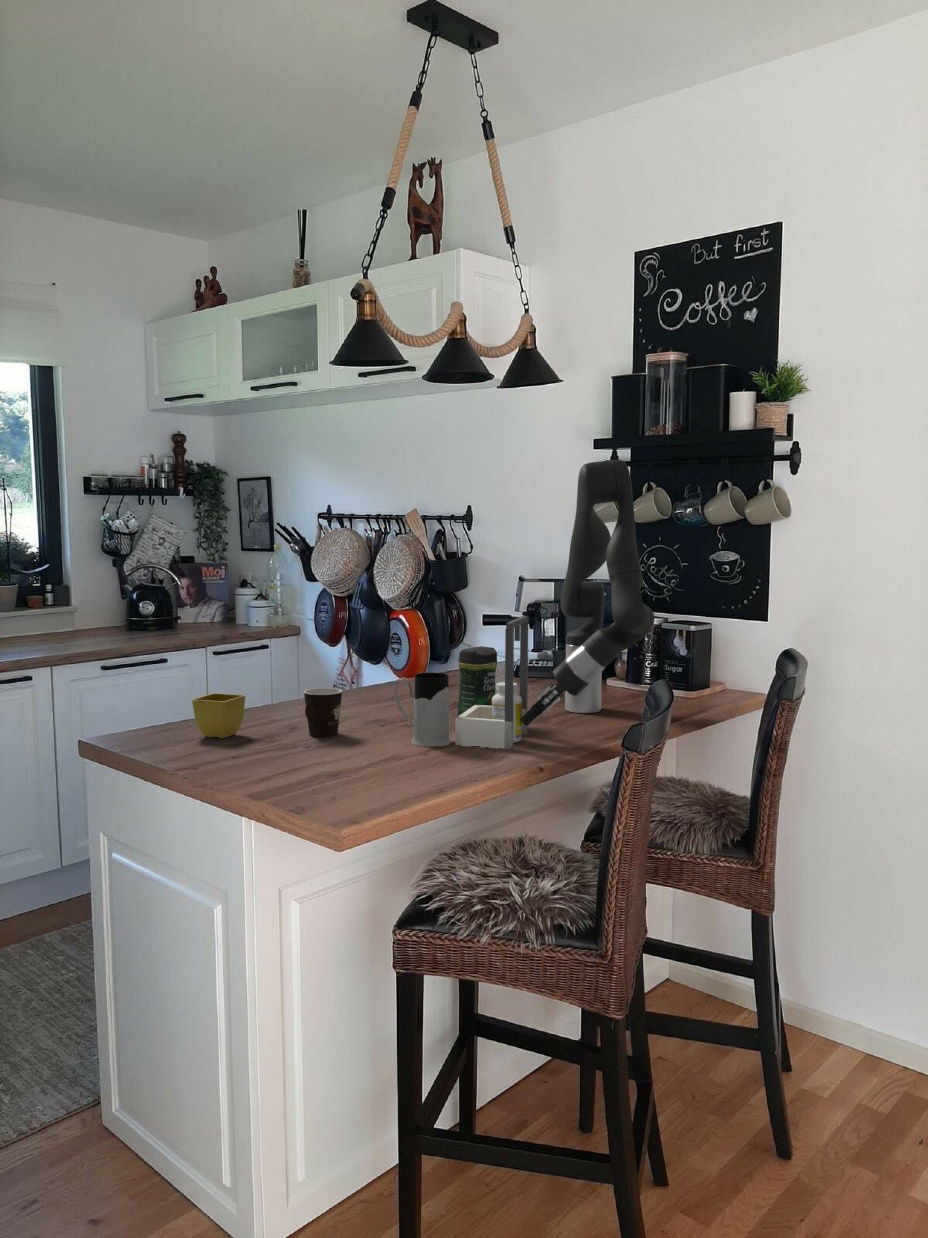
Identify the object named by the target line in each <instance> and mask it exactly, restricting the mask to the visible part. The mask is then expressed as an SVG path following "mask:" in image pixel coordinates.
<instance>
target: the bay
mask: <svg viewBox="0 0 928 1238" xmlns="http://www.w3.org/2000/svg"><path fill="white" fill-rule="evenodd" d="M528 620H529V617H528V615H521V616H520V617H517V618H514V619H513V620H510V621H508V622H506V623H505V625H506V626H505V639H504V640H505V643H504V645H505V646H504V648H505V649H504V653H505V654H504V656H505V657H504V664H505V665H504V682H505V720H498V719H492V706H487V705H474V706H472V707H471V708H470V709H468V710H467V711H465V712H464V713H462V714H461V715H459V716H458V717H455V719H454V721H455V726H454V727H455V728H454V731H455V732H454V733H455V734H454V735H455V740H454V741H455V746H457V745H461V746H460V747H471V746H480V747H479V748H485V747H489V748H488V749H499V748H502V750H503V749H504V750H512V749H513V748H514V743H513V683H514V666H515V665H514V664H515V663H514V661H515V660H514V659H515V658H514V657H515V656H514V655H515V654H514V653H515V642H520V643H519V653H520V654H519V696H520V697H521V698H522V716H524V715H525V714H526V713H527V712H528V695H529V694H528V690H529V689H528V687H529V686H528V685H529V684H528V683H529V682H528V680H529V672H528V671H529V669H528V668H529V621H528ZM527 734H528V725H527V726H525V725H524V724H523V723H522V736H526V735H527Z"/></svg>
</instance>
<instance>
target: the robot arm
mask: <svg viewBox="0 0 928 1238" xmlns="http://www.w3.org/2000/svg"><path fill="white" fill-rule="evenodd" d="M632 484H633V483H632V478H631V472H630V470H629V467H628V464H627V463H626V462H625V460H622V459H611V460H601V461H600V460H599V461H593V462H587V463H584V464H583V465H582V466H581V467H580V469H579V473H578V478H577V489H576V508H575V509H576V510H575V517H574V522H573V527H572V528H573V529H572V533H571V534H572V535H571V538H570V544H569V545H570V546H569V555H568V562H567V563H568V565H567V569H566V574H565V578H564V582H563V585H562V589H561V594H560V609H561V611H562V614H563V615H564V616H565V617H568V618H573V619H576V618H577V619H578V618H584V619H585V618H586V619H587V618H589V621H588V622H587V623H586V624H584V625H583V626H581V627H579V628H577V629H573V630H571V631H569V632H567V633H566V635H565V643H566V644H565V659H563V660H562V661H561V662H560V663H559V664H558V665H557V666H556V667H555V668H554V669H553V670H552V675H553V678H554V680H556V684H554V683H553V682H551V684H549V685H547V687H546V688H545V689H544V691H543V693H541V695H539V696H538V697H537V699H536V702H535V703H533V704H532V705H531V707H530V709H529V710H527V713H526V714H525V715H524V716H522V717H521V719H520V720H521V722H522V723H523V724H524V725H525V726H527V727H528V726H529V725H530V724H531V723H532V722H534V720H536V718H537V717H539V716H541V715H542V714H543V713H544V711H549V710H550V709H551V708H552V707H553V706H554V705H555V704H558V703H559V702H560V701H561V700H562V699H563V698H564V710H565V711H567V712H571V713H575V714H576V713H577V714H579V713H580V714H591V713H592V714H594V713H598V712H600V711H601V710H602V672H603V671H604V670H605V668H606V667H607V666H609V664H611V663H612V662H613V661H614V660H615V659H616V658H618V657H617V656H619V655H620V654H621V653H622V652H624V651H625V650H627V649H629V648H630V647H632V646H633V645H635V644H636V643H638V642H639V641H641V640H642V639H643V638H644V637H645V636H647V635H648V634H649V632H650V631H651V630H652V629H653V627H654V624H655V618H656V617H655V614H654V611H653V610H652V608H651V607H649V606H648V605H647V604H645V603H644V602H643V598H642V592H641V588H642V587H643V584H644V576H643V571H642V565H641V562H640V557H639V552H638V546H637V537H636V521H635V520H636V519H635V507H634V497H633V496H634V495H633V485H632ZM607 503H608V504H610V503H617V506H618V507H617V508H618V513H617V518H616V519H617V520H616V524H615V527H614V529H613V531H612V534H611V533H610V530H609V528H608V526H607V525H606V523H605V522H604V521H603V520H602V519H601V517H600V516H599V515H598V514H597V513H596V511H595V509H594V507H595V506H596V505H601V504H607ZM605 563H606V569H607V572H608V573H607V574H608V578H609V583H610V586H611V587H610V588H611V589H610V590H611V591H610V592H611V593H610V600H611V604H610V605H611V614H612V619H613V621H614V622H613V623H611V624H609V626H607V627H604V628H603V625H604V624H603V622H604V620H603V619H604V608H605V589H604V585H603V584H602V583H601V582H600V581H586V580H587V579H588V578H589V577H591V576H592V575H593V574H595V573H596V572H597V571H599V570H600V569H601V567H602V566H603V565H604V564H605ZM564 693H565V694H564Z"/></svg>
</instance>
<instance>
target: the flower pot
mask: <svg viewBox="0 0 928 1238" xmlns="http://www.w3.org/2000/svg"><path fill="white" fill-rule="evenodd" d="M191 702H192V708H193V713H194V719H195V723H196V725H197V728H198V729H199V731H200V732H201V733H202V735H203V736H204V737H205V736H208V737H207V738H212V737H219V738H218V739H222V738H223V739H225V737H226V738H228V736H229V737H231V736H234V735H236V734H237V733H238V731H239V729H240V727H241V725H242V722H243V720H244V715H245V707H246V706H245V705H246V694H245V695H244V694H232V693H231V694H230V693H219V692H218V693H217V692H215V693H214V692H213V693H209V694H207V695H206V694H205V695H203V696H200V697H196V698H193V699H191ZM233 734H234V735H233Z"/></svg>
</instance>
